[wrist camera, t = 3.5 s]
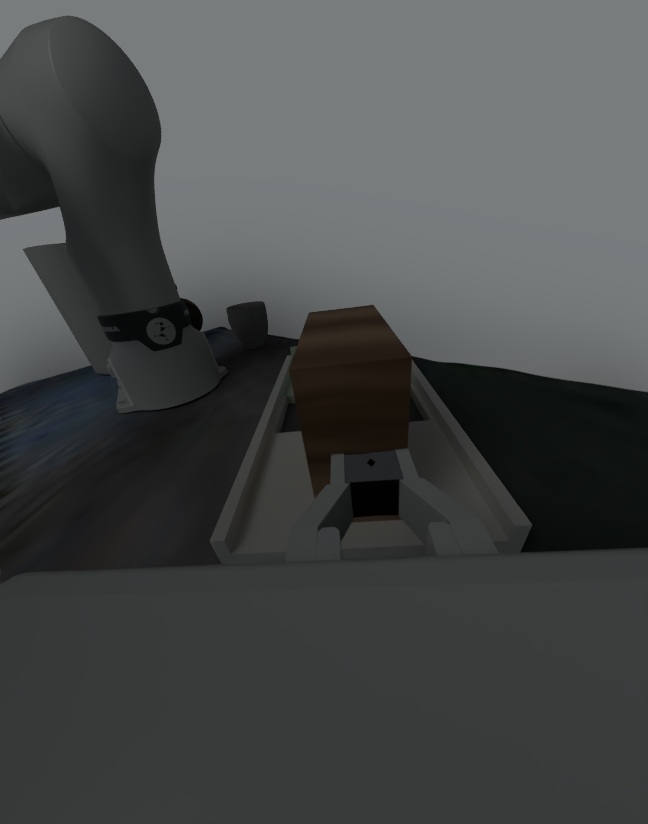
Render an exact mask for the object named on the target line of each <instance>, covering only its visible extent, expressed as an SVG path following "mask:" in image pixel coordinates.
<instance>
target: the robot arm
mask: <svg viewBox="0 0 648 824" xmlns="http://www.w3.org/2000/svg"><path fill="white" fill-rule="evenodd" d="M160 143H161V126H160V121H159V116H158V112H157V109H156V106H155V103H154V101H153V98H152V96H151V94H150V92H149V90H148V87H147V85H146V84H145V82H144V80H143V78H142V77H141V75H140V73H139V72H138V70H137V69H136V67H135V66H134V64H133V63H132V62H131V60H130V59H129V58H128V57H127V55H126V54H125V53H124V52H123V51H122V49H121V48H120V47H119V46H118V45H117V44H116V43H115V42H114V41H113V40H112V39H111V38H110V37H109V36H107V35H106V34H105V33H104V32H103V31H101V30H100V29H99V28H97V27H96V26H94V25H93V24H91V23H89V22H87V21H85V20H83V19H81V18H78V17H73V16H63V17H58V18H53V19H49V20H45V21H42V22H39V23H36V24H33V25H30V26H28V27H26V28H24V29H23V30H22V31H21V32H20V33H19V35H18V36H17V37H16V39H15V40H14V41H13V43H12V44H11V45H10V47H9V48H8V50H7V51H6V52H5V54H4V55H3V56H2V58H1V59H0V220H1V219H5V218H9V217H15V216H20V215H24V214H28V213H33V212H38V211H42V210H47V209H51V208H55V207H60V209H61V212H62V216H63V221H64V225H65V230H66V249H67V253H68V256H69V258H70V260H71V262H72V264H73V266H74V268H75V269H76V271H77V273H78V275H79V277H80V279H81V281H82V283H83V285H84V287H85V289H86V291H87V292H88V294H89V296H90V298H91V300H92V302H93V304H94V306H95V308H96V310H97V311H98V313H99V315H98V317H97V318H98V320H99V323H100V327H101V329H102V331H104V333H105V335H106V337H107V339H108V340H109V341H112V350H111V352H110V354H109V358H108V359H107V360H108V363H109V364H107V369H108V371H109V373H110V375H111V376H112V378H117V380H118V381H117V386H118V387H119V391H118V398H117V405H116V408H117V410H118V413H127V412H132V411H138V410H158V409H164V408H169V407H173V406H177V405H180V404H184V403H186V402H189V401H192V400H194V399H196V398H199V397H201V396H203V395H205V394H206V393H208V392H210V391H211V390H212V389H214V388H215V387H216V386H217V385H218V383H219V381H220V379H221V378H222V377H223V376H225V375H226V374H227V373H228V371H227V369H226V367H222V366H218V365H217V363H216V360H215V358H214V355H213V353H212V350H211V348H210V345H209V343H208V341H207V338H206V336H205V334H204V333H202V332H200V331H198V330H196V329H195V328H194V327H192V325H191V322H192V321H191V318H190V316H189V311H188V309H187V308H186V305H185V303H184V301H182V300H180V297H179V295H178V292H177V289H176V286H175V283H174V280H173V278H172V275H171V272H170V269H169V266H168V264H167V260H166V257H165V254H164V251H163V248H162V244H161V240H160V235H159V229H158V223H157V215H156V205H155V193H154V192H155V191H154V170H155V163H156V158H157V154H158V150H159V147H160ZM385 515H399V517H400V518H401V519H402V520H403V521H404V523H405V524H406V525H407V526H408V527H409V528H410V529H411V530H412V531H413V533H414V534H415V535H416V536H417V537H418V538H419V539H420V540H421V541H422V543H423V544H424V545H425V546H426V547H425V556H421V557H396V558H371V559H345V560H344V558H343V551H342V545H341V541H342V539H343V538H344V536H345V534H346V532H347V530H348V528H349V527H350V525H351V523H352V521H353V519H354V517H367V516H385ZM0 824H648V548H623V549H598V550H572V551H547V552H522V553H499V552H498V551H497V549H496V547H495V545H494V543H493V541H492V539H491V538H490V536H489V534H488V532H487V530H486V528H485V526H484V524H483V523H482V521H481V519H480V518H479V517H477V516H476V515H474V514H473V513H472V512H470V511H469V510H467V509H466V508H465V507H463V506H462V505H461V504H459V503H458V502H456V501H455V500H454V499H452V498H451V497H449V496H448V495H447V494H445V493H444V492H442V491H441V490H440V489H438V488H437V487H435V486H434V485H433V484H431V483H430V482H428V481H427V480H426V479H424V478H419V475H418V472H417V470H416V467H415V464H414V462H413V459H412V456H411V454H410V451H409V449H408V448H406V449H395V450H387V451H375V452H359V453H344V454H332V455H331V478H330V484H328V485H326V486H325V487H324V488H323V490H322V491H321V492H320V493H319V494H318V496H317V497H316V498H315V499H314V500H313V502H312V503H311V504H310V505H309V506H308V508H307V509H306V510H305V511H304V512H303V514H302V515H301V516H300V517H299V518H298V519H297V521H296V522H295V523H294V524H293V525H292V527H291V528H290V533H289V539H288V545H287V551H286V557H285V562H268V563H243V564H218V565H193V566H168V567H143V568H118V569H92V570H65V571H37V572H26V573H22V574H18V575H16V576H13V577H12V578H10V579H8V580H6V581H4V582H3V583H1V584H0Z"/></svg>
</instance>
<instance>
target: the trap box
mask: <svg viewBox="0 0 648 824" xmlns="http://www.w3.org/2000/svg"><path fill="white" fill-rule="evenodd" d="M296 348H297V346H294V347H291V348H290V350H291V355H288V356H287V357H286V359H285V362H284V364H283V366H282V369H281V371H280V374H279V376H278V378H277V381H276V383H275V386H274V388H273V390H272V393H271V395H270V398H269V400H268V402H267V405H266V407H265V410H264V412H263V414H262V417H261V419H260V422H259V424H258V426H257V429H256V431H255V434H254V436H253V438H252V441H251V443H250V446H249V448H248V450H247V453H246V455H245V458H244V460H243V462H242V465H241V467H240V470H239V472H238V474H237V477H236V479H235V482H234V484H233V486H232V489H231V491H230V494H229V496H228V498H227V501H226V503H225V506H224V508H223V510H222V513H221V515H220V518H219V520H218V522H217V525H216V527H215V530H214V532H213V534H212V537H211V539H210V541H209V542H210V544H211V545H212V547H213V549H214V551H215V553H216V554H217V556H218V558H219V560H220V562H221V563H222V564H243V563H268V562H285V557H286V551H287V545H288V539H289V533H290V528H291V527H292V525H293V524H294V523H295V522H296V521H297V519H298V518H299V517H300V516H301V515H302V514H303V512H304V511H305V510H306V509H307V508H308V506H309V505H310V504H311V503H312V502H313V500H314V494H313V489H312V484H311V479H310V474H309V469H308V464H307V459H306V453H305V448H304V443H303V438H302V433H301V428H300V423H299V418H298V413H297V408H296V403H295V398H294V393H293V388H292V383H291V378H290V373H289V368H290V365H291V362H292V360H293V357H294V354H295V351H296ZM408 449H409V451H410V454H411V456H412V459H413V462H414V464H415V467H416V470H417V472H418V475H419V478H424V479H426V480H427V481H428V482H430V483H431V484H433V485H434V486H435V487H437V488H438V489H440V490H441V491H442V492H444V493H445V494H447V495H448V496H449V497H451V498H452V499H454V500H455V501H456V502H458V503H459V504H461V505H462V506H463V507H465V508H466V509H467V510H469V511H470V512H472V513H473V514H474V515H476V516H477V517H479V518H480V519H481V521H482V523H483V524H484V526H485V528H486V530H487V532H488V534H489V536H490V538H491V539H492V541H493V543H494V545H495V547H496V549H497V551H498V552H499V553H520V552H521V550H522V547H523V545H524V543H525V540H526V538H527V536H528V533H529V531H530V529H531V526H532V524H531V522H530V521H529V520H528V518H527V517H526V516H525V514H524V513H523V511H522V510H521V509H520V507H519V506H518V505H517V503H516V502H515V500H514V499H513V498H512V496H511V495H510V494H509V492H508V491H507V489H506V488H505V487H504V485H503V484H502V483H501V481H500V480H499V478H498V477H497V476H496V474H495V473H494V472H493V470H492V469H491V467H490V466H489V465H488V463H487V462H486V461H485V459H484V458H483V456H482V455H481V454H480V452H479V451H478V450H477V448H476V447H475V445H474V444H473V443H472V441H471V440H470V439H469V437H468V436H467V434H466V433H465V432H464V430H463V429H462V428H461V426H460V425H459V424H458V422H457V421H456V419H455V418H454V417H453V415H452V414H451V413H450V411H449V410H448V408H447V407H446V406H445V404H444V403H443V402H442V400H441V399H440V397H439V396H438V395H437V393H436V392H435V391H434V389H433V388H432V386H431V385H430V384H429V382H428V381H427V380H426V378H425V377H424V375H423V374H422V373H421V371H420V370H419V369H418V367H417V366H416V364H415V363H414V362H413V360H412V370H411V390H410V410H409V429H408ZM341 545H342V551H343V558H344V560H345V559H371V558H396V557H421V556H425V547H426V546H425V545H424V544H423V543H422V541H421V540H420V539H419V538H418V537H417V536H416V535H415V534H414V533H413V531H412V530H411V529H410V528H409V527H408V526H407V525H406V524H405V523H404V521H403V520H389V521H371V522H353V523H351V525H350V527H349V528H348V530H347V532H346V534H345V536H344V538H343V539H342V541H341Z"/></svg>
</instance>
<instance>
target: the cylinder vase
mask: <svg viewBox="0 0 648 824" xmlns="http://www.w3.org/2000/svg"><path fill="white" fill-rule="evenodd" d="M23 250H24V252H25V254H26V256H27V257H28V259H29V261H30V262H31V264H32V266H33V267H34V269H35V271H36V272H37V274H38V276H39V277H40V279H41V281H42V283H43V284H44V286H45V288H46V289H47V291H48V293H49V294H50V296H51V298H52V299H53V301H54V303H55V304H56V306H57V308H58V309H59V311H60V313H61V314H62V316H63V318H64V319H65V321H66V323H67V324H68V326H69V328H70V330H71V331H72V333H73V335H74V336H75V338H76V340H77V342H78V343H79V345H80V347H81V348H82V350H83V352H84V353H85V355H86V357H87V358H88V360H89V362H90V363H91V365H92V367H93V368H94V370H95V372H96V373H98V374H100V375H110V373H109V371H108V369H107V364H109V363H108V360H107V359H108V358H109V354H110V352H111V350H112V341H109V340H108V339H107V337H106V335H105V333H104V331H102V329H101V327H100V323H99V320H98V318H97V317H98V315H99V313H98V311H97V310H96V308H95V306H94V304H93V302H92V300H91V298H90V296H89V294H88V292H87V291H86V289H85V287H84V285H83V283H82V281H81V279H80V277H79V275H78V273H77V271H76V269H75V268H74V266H73V264H72V262H71V260H70V258H69V256H68V253H67V249H66V243H60V244H49V245H41V246H34V247H29V248H25V249H23Z"/></svg>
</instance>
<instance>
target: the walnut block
mask: <svg viewBox="0 0 648 824" xmlns="http://www.w3.org/2000/svg"><path fill="white" fill-rule="evenodd" d="M411 370H412V356H411V355H410V353H409V352H408V351H407V349H406V348H405V347H404V345H403V344H402V343H401V342H400V340H399V339H398V337H397V336H396V335H395V333H394V332H393V331H392V329H391V328H390V327H389V325H388V324H387V323H386V321H385V320H384V319H383V317H382V316H381V315H380V313H379V312H378V311H377V309H376V308H375V307H374V305H370V306H361V307H353V308H344V309H336V310H328V311H319V312H311V313H309V314H308V317H307V320H306V323H305V325H304V328H303V331H302V334H301V337H300V340H299V342H298V345H297V348H296V351H295V354H294V357H293V360H292V362H291V365H290V368H289V373H290V378H291V383H292V388H293V393H294V398H295V403H296V408H297V413H298V418H299V423H300V428H301V433H302V438H303V443H304V448H305V453H306V459H307V464H308V469H309V474H310V479H311V484H312V489H313V494H314V499H315V498H316V497H317V496H318V494H319V493H320V492H321V491H322V490H323V488H324V487H325V486H326V485H328V484H330V478H331V455H332V454H344V453H359V452H375V451H387V450H395V449H406V448H408V429H409V410H410V390H411ZM389 520H402V519H401V518H400V517H399V515H385V516H367V517H354V519H353V521H352V523H353V522H371V521H389Z"/></svg>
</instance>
